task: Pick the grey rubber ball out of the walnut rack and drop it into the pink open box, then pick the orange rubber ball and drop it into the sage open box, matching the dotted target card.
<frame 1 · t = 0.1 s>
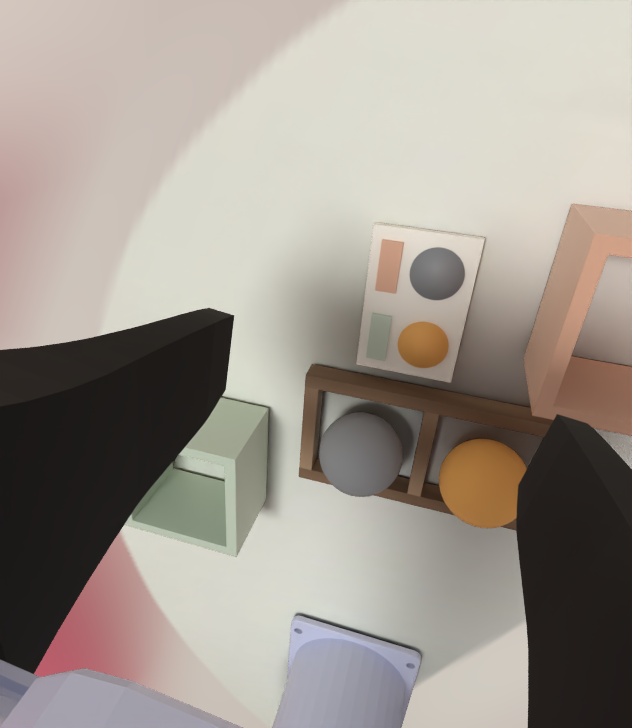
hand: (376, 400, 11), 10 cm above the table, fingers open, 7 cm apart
target card: (415, 305, 20), on the table
sage open box: (213, 443, 27), on the table
grey ball: (360, 453, 22), point 2 cm above the table
orange ball: (483, 482, 21), point 2 cm above the table
rack: (424, 442, 23), on the table
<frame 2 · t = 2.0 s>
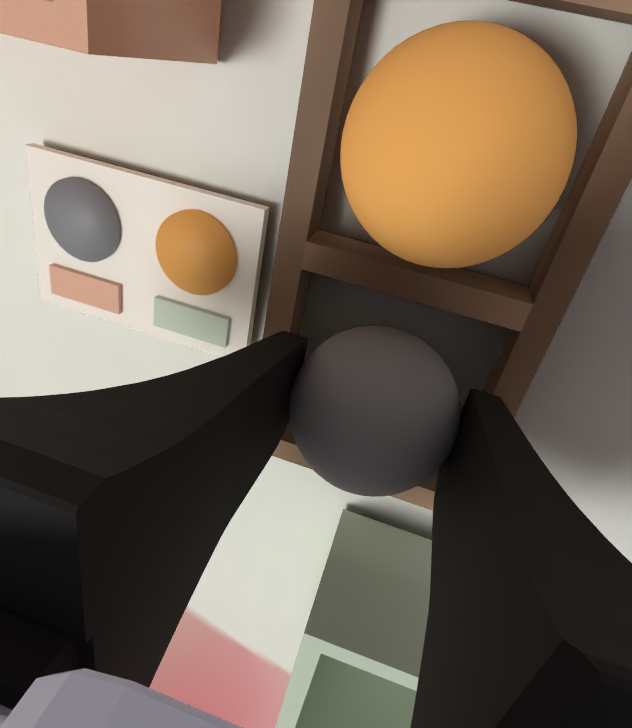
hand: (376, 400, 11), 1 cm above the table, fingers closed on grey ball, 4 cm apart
target card: (146, 256, 13), on the table
sage open box: (413, 606, 16), on the table
grey ball: (373, 409, 11), point 2 cm above the table, touching gripper
orange ball: (451, 154, 8), point 2 cm above the table
rack: (416, 270, 11), on the table
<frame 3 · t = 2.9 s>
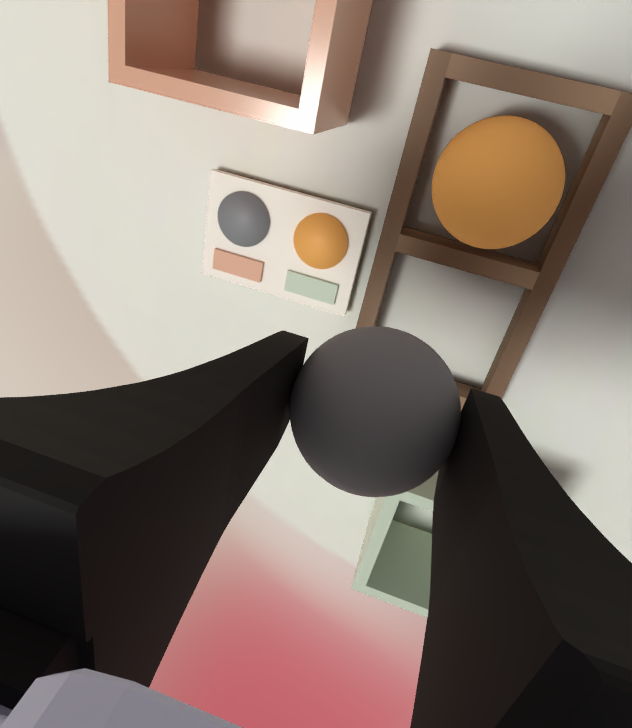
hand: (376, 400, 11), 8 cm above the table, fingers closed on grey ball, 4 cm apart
target card: (282, 243, 19), on the table
sage open box: (450, 496, 23), on the table
grey ball: (373, 410, 11), point 9 cm above the table, touching gripper
orange ball: (495, 184, 15), point 2 cm above the table
rack: (466, 253, 18), on the table
when the fingers open (6 cm above the table, at t = 4.1 s): grey ball drops 5 cm, point 2 cm above the table.
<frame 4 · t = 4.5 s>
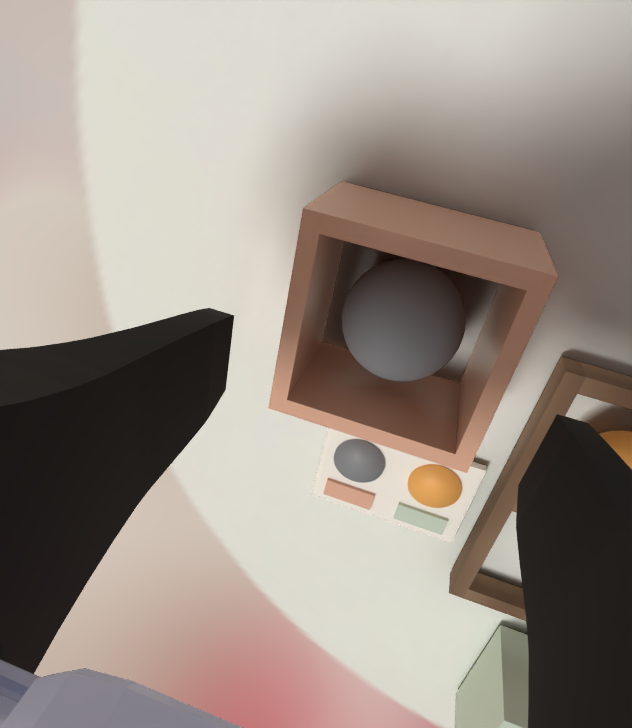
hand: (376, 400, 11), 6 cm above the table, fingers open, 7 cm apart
target card: (393, 478, 20), on the table
sage open box: (540, 685, 24), on the table
grey ball: (402, 320, 15), point 2 cm above the table
pink open box: (409, 297, 17), on the table
orange ball: (623, 489, 16), point 2 cm above the table
rack: (576, 506, 19), on the table
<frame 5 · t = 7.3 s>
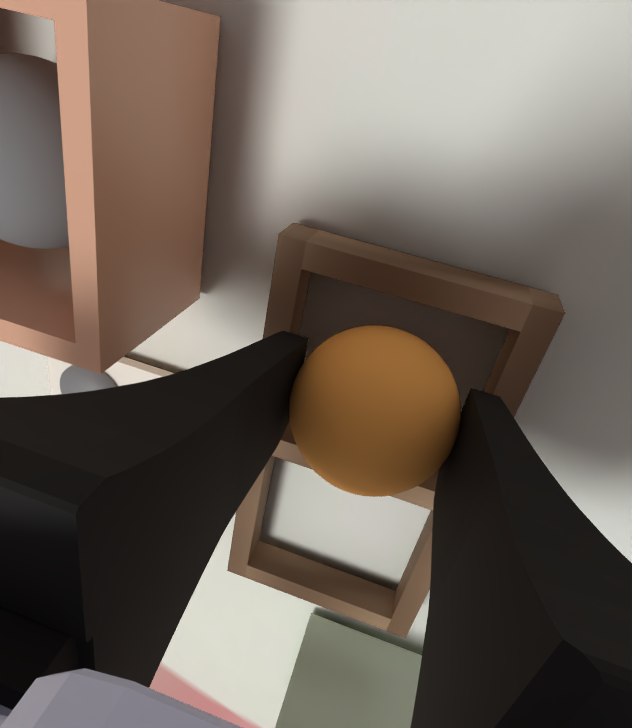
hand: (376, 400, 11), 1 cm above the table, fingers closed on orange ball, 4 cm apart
target card: (143, 419, 15), on the table
sage open box: (373, 690, 19), on the table
grey ball: (35, 157, 10), point 2 cm above the table
pink open box: (89, 144, 12), on the table
orange ball: (373, 409, 11), point 2 cm above the table, touching gripper
rack: (361, 450, 14), on the table
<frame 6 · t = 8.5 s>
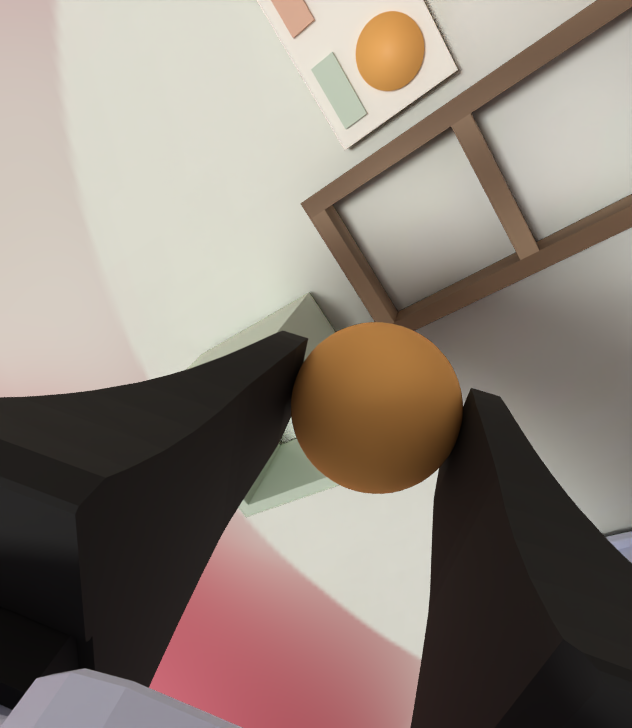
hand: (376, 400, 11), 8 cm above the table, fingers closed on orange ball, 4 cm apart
target card: (348, 18, 15), on the table
sage open box: (292, 382, 22), on the table
orange ball: (375, 406, 11), point 9 cm above the table, touching gripper
rack: (495, 184, 16), on the table
when the fingers open (6 cm above the table, at t = 9.6 s): orange ball drops 5 cm, point 2 cm above the table.
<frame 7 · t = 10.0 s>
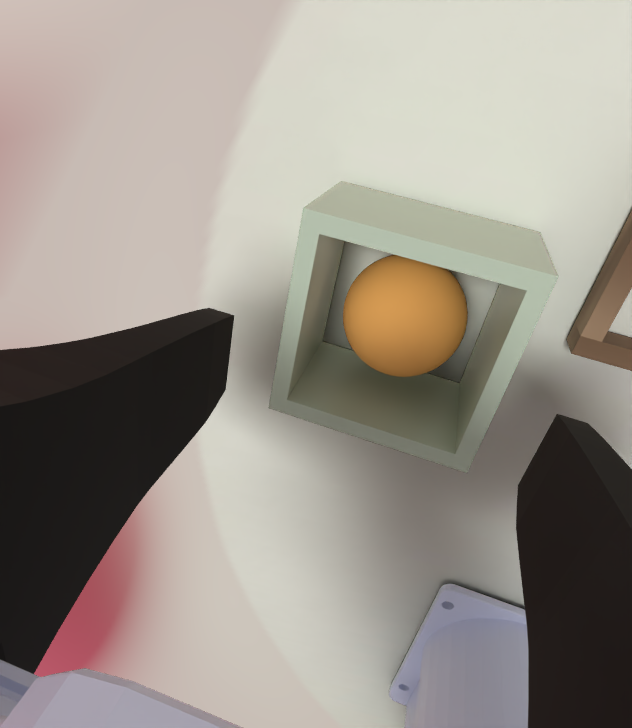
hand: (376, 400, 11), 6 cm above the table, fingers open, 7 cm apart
sage open box: (409, 297, 17), on the table
orange ball: (404, 315, 15), point 2 cm above the table
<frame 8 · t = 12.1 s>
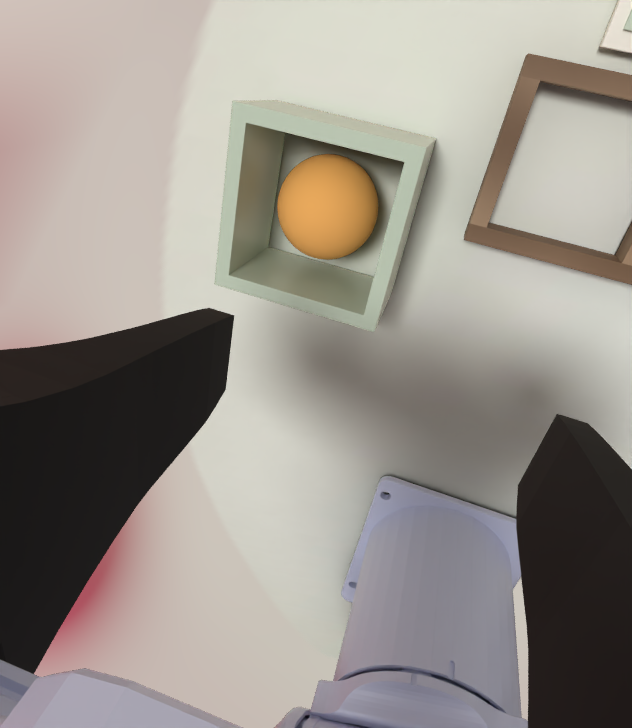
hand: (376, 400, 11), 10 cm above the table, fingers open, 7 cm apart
sage open box: (337, 202, 20), on the table
orange ball: (327, 208, 18), point 2 cm above the table
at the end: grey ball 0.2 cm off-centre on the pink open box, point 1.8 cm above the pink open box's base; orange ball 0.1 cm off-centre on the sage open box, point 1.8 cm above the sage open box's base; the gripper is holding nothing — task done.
